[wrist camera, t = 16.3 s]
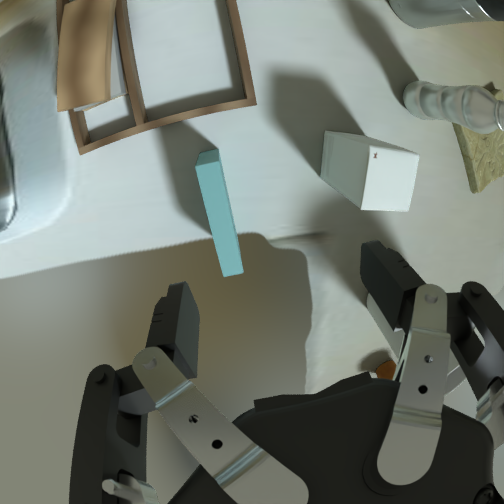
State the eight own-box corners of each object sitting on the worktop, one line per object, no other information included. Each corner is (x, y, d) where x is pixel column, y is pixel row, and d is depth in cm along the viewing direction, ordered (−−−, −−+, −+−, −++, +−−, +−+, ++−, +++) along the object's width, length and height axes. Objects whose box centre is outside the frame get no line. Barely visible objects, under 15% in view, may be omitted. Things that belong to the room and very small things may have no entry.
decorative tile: (449, 119, 35) (462, 122, 32) (493, 87, 30) (504, 89, 27) (469, 197, 43) (479, 203, 40) (508, 157, 39) (518, 161, 36)
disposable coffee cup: (388, 354, 65) (406, 387, 55) (403, 359, 68) (420, 388, 58) (364, 375, 68) (379, 407, 58) (381, 378, 72) (395, 407, 61)
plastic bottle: (428, 119, 34) (522, 147, 17) (398, 116, 34) (499, 143, 17) (426, 83, 31) (523, 97, 14) (395, 78, 30) (498, 84, 13)
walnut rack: (220, -54, 17) (221, -62, 15) (254, 105, 32) (256, 105, 30) (63, -3, 17) (56, -6, 15) (87, 152, 31) (80, 155, 29)
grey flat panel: (115, -3, 19) (111, -8, 17) (126, 93, 27) (121, 93, 26) (71, 16, 19) (65, 13, 17) (80, 110, 27) (74, 111, 25)
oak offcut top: (117, -7, 18) (112, -12, 16) (110, 99, 26) (104, 99, 24) (71, 8, 17) (64, 4, 15) (65, 111, 25) (57, 112, 23)
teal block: (218, 148, 34) (218, 161, 27) (237, 239, 41) (243, 272, 34) (200, 152, 34) (195, 166, 26) (221, 242, 41) (223, 276, 34)
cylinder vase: (371, 321, 56) (421, 411, 34) (358, 287, 50) (422, 391, 28) (415, 293, 54) (475, 372, 32) (409, 255, 48) (487, 341, 26)
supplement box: (318, 178, 38) (358, 211, 27) (323, 129, 34) (369, 142, 23) (361, 182, 39) (409, 213, 28) (368, 136, 35) (421, 153, 24)
